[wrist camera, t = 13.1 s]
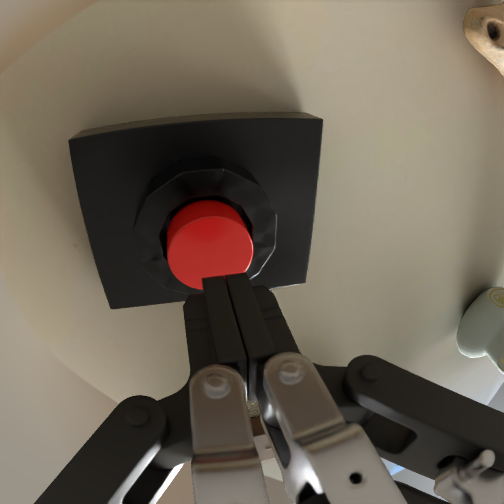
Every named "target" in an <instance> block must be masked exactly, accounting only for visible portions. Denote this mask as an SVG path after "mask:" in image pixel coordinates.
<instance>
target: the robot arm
mask: <svg viewBox="0 0 504 504" xmlns="http://www.w3.org/2000/svg"><path fill="white" fill-rule="evenodd" d="M202 287H203V293H201V294H193V295H188V297H187V299H186V301H185V303H184V306H183V311H184V320H185V329H186V338H187V347H188V355H189V362H190V376H189V379H188V381H187V383H186V384H185V386H184V387H183V388H182V389H181V390H179V391H178V392H176V393H174V394H173V395H170V396H168V397H165V398H163V399H161V400H158V401H157V400H155V399H153V398H151V397H148V396H143V395H137V396H132V397H129V398H127V399H125V400H123V401H122V402H121V403H120V404H119V405H118V406H117V407H116V408H115V409H114V410H113V411H112V413H111V414H110V415H109V416H108V417H107V418H106V420H105V421H104V422H103V423H102V424H101V425H100V427H99V428H98V429H97V430H96V431H95V433H94V434H93V435H92V436H91V437H90V438H89V440H88V441H87V442H86V443H85V444H84V445H83V447H82V448H81V449H80V450H79V451H78V452H77V454H76V455H75V456H74V457H73V458H72V460H71V461H70V462H69V463H68V464H67V465H66V466H65V468H64V469H63V470H62V471H61V473H60V474H59V475H58V476H57V477H56V479H54V481H53V482H52V483H51V484H50V485H49V487H48V488H47V489H46V490H45V491H44V493H43V494H42V495H41V496H40V497H39V498H38V499H37V501H36V502H35V503H34V504H155V503H156V502H157V501H158V499H159V498H160V497H161V495H162V494H163V492H164V491H165V490H166V488H167V487H168V485H169V484H170V483H171V481H172V480H173V478H174V477H175V475H176V474H177V472H178V471H179V470H180V468H181V467H182V465H183V463H186V462H188V461H190V460H191V472H192V482H193V494H194V503H195V504H270V503H269V498H268V494H267V489H266V484H265V479H264V474H263V470H262V465H261V461H260V457H259V454H258V452H257V450H256V447H255V442H254V437H253V431H252V426H251V421H250V416H249V410H248V405H247V397H248V400H249V402H253V401H257V402H258V405H259V408H260V411H261V415H260V420H261V424H262V426H263V429H264V431H265V434H266V436H267V439H268V441H269V444H270V446H271V448H272V451H273V453H274V456H275V458H276V460H277V463H278V465H279V467H280V470H281V473H282V477H283V483H284V486H285V489H286V492H287V494H288V497H289V499H290V501H291V503H292V504H504V413H503V412H500V411H498V410H495V409H493V408H491V407H488V406H486V405H484V404H481V403H479V402H476V401H474V400H472V399H469V398H467V397H465V396H462V395H460V394H458V393H456V392H453V391H451V390H449V389H446V388H444V387H442V386H440V385H437V384H435V383H433V382H431V381H429V380H426V379H424V378H422V377H420V376H417V375H415V374H413V373H411V372H409V371H407V370H404V369H402V368H400V367H398V366H396V365H394V364H391V363H389V362H387V361H385V360H383V359H381V358H379V357H376V356H372V355H362V356H358V357H356V358H354V359H353V360H351V361H350V363H349V364H348V366H347V367H337V366H322V365H317V364H315V363H312V362H311V361H310V360H309V359H308V358H307V357H305V356H303V355H302V354H301V353H300V351H299V349H298V347H297V345H296V343H295V340H294V338H293V336H292V334H291V331H290V329H289V327H288V325H287V323H286V320H285V318H284V316H283V314H282V311H281V309H280V307H279V305H278V302H277V300H276V298H275V296H274V294H273V293H272V292H271V291H270V290H269V289H268V288H266V287H265V286H264V285H259V286H251V283H250V280H249V278H248V275H247V273H246V272H243V273H236V274H228V275H224V276H223V275H221V276H213V277H205V278H202ZM380 457H382V458H384V459H386V460H388V461H390V462H393V463H395V464H397V465H399V466H402V467H404V468H406V469H409V470H411V471H413V472H416V473H418V474H421V475H423V476H426V477H428V478H430V479H433V480H435V485H434V493H435V494H436V495H438V496H441V497H442V498H444V499H445V500H447V501H448V502H446V501H444V500H441V499H438V498H436V497H434V496H432V495H429V494H427V493H425V492H422V491H420V490H418V489H416V488H413V487H411V486H409V485H407V484H405V483H402V482H399V481H395V480H393V478H392V476H391V475H390V473H389V471H388V470H387V468H386V466H385V465H384V463H383V461H382V460H381V458H380ZM449 502H450V503H449Z"/></svg>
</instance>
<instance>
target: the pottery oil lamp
mask: <svg viewBox="0 0 504 504" xmlns="http://www.w3.org/2000/svg"><path fill="white" fill-rule="evenodd" d="M463 29H464V33H465V36H466V37H467V39H468V40H469V42H470V43H471V44H472V45H473V46H474V48H476V50H477V51H478V52H479V53H480V54H482V55H483V56H484V57H485V58H486V59H487V60H488V61H490V62H491V63H492V64H493V65H494V66H495V67H496V68H497V69H498V70H499V71H500V73H501V74H502V75H503V77H504V2H503V3H502V4H498V5H494V6H487V7H480V8H472V9H470V10H469V11H468V12H467V14H466V16H465V18H464V22H463Z"/></svg>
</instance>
